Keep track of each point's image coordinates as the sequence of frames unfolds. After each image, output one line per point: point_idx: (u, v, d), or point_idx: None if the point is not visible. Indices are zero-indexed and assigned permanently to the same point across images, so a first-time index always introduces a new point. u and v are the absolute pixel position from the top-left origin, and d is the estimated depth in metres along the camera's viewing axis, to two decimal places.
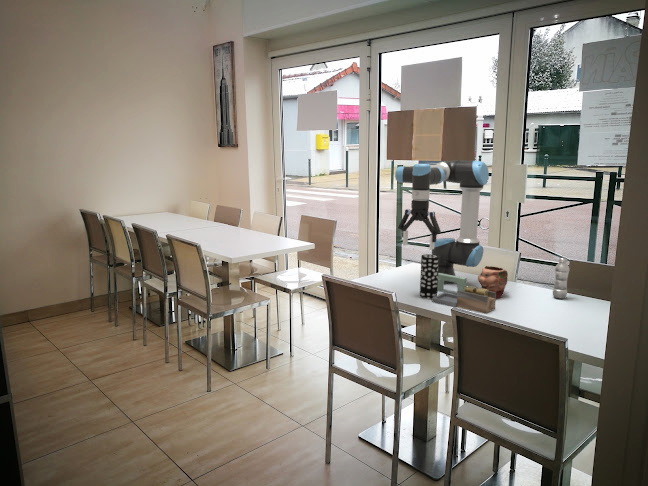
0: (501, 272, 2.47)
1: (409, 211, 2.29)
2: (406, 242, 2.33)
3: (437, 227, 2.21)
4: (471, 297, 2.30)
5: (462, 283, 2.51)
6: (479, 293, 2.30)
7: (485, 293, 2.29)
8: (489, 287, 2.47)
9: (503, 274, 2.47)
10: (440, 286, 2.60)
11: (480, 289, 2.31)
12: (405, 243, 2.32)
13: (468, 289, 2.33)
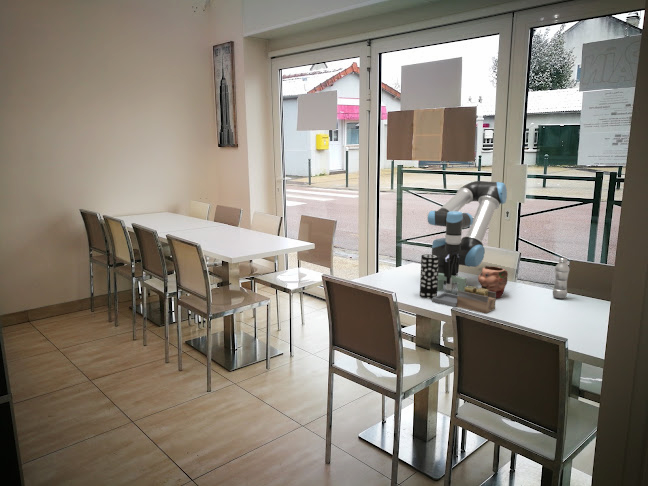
0: (501, 272, 2.47)
1: None
2: (452, 286, 2.58)
3: (446, 271, 2.52)
4: (471, 297, 2.30)
5: (462, 283, 2.51)
6: (479, 293, 2.30)
7: (485, 293, 2.29)
8: (489, 287, 2.47)
9: (503, 274, 2.47)
10: (440, 286, 2.60)
11: (480, 289, 2.31)
12: None
13: (468, 289, 2.33)
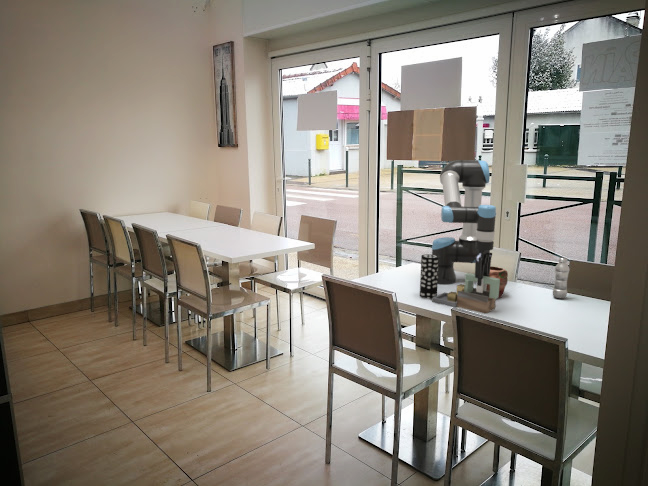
0: (501, 272, 2.47)
1: None
2: (483, 288, 2.33)
3: (477, 272, 2.26)
4: (471, 297, 2.30)
5: (495, 285, 2.25)
6: (460, 289, 2.36)
7: None
8: (489, 287, 2.47)
9: (503, 274, 2.47)
10: (469, 288, 2.35)
11: (461, 285, 2.37)
12: None
13: (448, 297, 2.41)
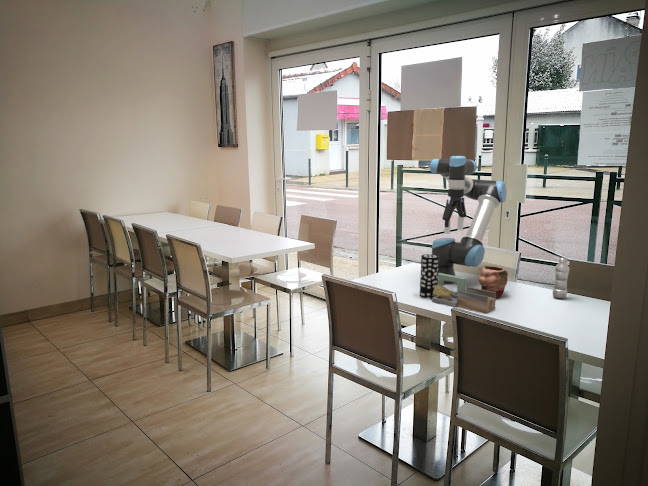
0: (501, 272, 2.47)
1: None
2: (460, 228, 2.56)
3: (445, 213, 2.43)
4: (471, 297, 2.30)
5: (462, 283, 2.51)
6: (436, 291, 2.44)
7: (437, 286, 2.44)
8: (489, 287, 2.47)
9: (503, 274, 2.47)
10: None
11: None
12: (459, 228, 2.57)
13: (444, 298, 2.42)
